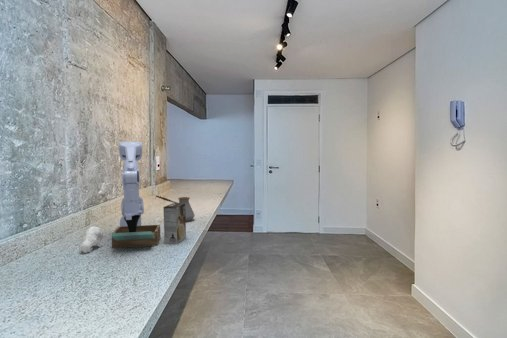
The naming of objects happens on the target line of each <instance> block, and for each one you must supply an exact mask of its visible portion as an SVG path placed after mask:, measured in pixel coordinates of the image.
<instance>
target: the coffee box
mask: <svg viewBox="0 0 507 338" xmlns="http://www.w3.org/2000/svg"><path fill="white" fill-rule="evenodd" d="M163 234H164V244H174V245H178V244H180V243H181V242H182V241H184V240H185V239H186V238H187V222H186V216H185V204H180V203H179V202H178V203H173V202H171V203H170V204H168V205H164V206H163Z"/></svg>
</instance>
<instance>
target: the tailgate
mask: <svg viewBox="0 0 507 338" xmlns="http://www.w3.org/2000/svg"><path fill="white" fill-rule="evenodd" d="M110 237H111V239H112V238H113V239H114V240H115V241H118V240H137V239H154V235H153V233H152V231H148V232H127V233H113V232H112V233H111V234H110Z"/></svg>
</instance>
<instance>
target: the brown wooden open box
mask: <svg viewBox="0 0 507 338" xmlns="http://www.w3.org/2000/svg"><path fill="white" fill-rule="evenodd" d="M148 231H152V233H153V235H154V239H137V240H118V241H115V240H114V239H113V238H112V237H111V249H118V248H121V249H122V248H138V247H156V246H158V245H159V242H160V240H161V224H149V225H148V224H147V225H141V226H137V229H136V232H148ZM127 232H129V229H128V226H121V227H120V226H117V228H115V230H113V232H112V233H127Z"/></svg>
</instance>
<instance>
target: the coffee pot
mask: <svg viewBox="0 0 507 338" xmlns="http://www.w3.org/2000/svg"><path fill="white" fill-rule="evenodd" d="M156 198H159V199H161V200H162V201H166V202H170V203H180V204H185V216H186V223H187V221H188V222H191V221H192V220H193V219H194V218H195V213H194V211H193V208H192V206H191V204H190V202H189V200H190V199H191V197H188V196H181V197H178V198H177V200H178V202H177V201H173V200H171V199H169V198H166V197H164V196H163V197H162V196H159V195H155V198H154V200H156Z"/></svg>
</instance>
